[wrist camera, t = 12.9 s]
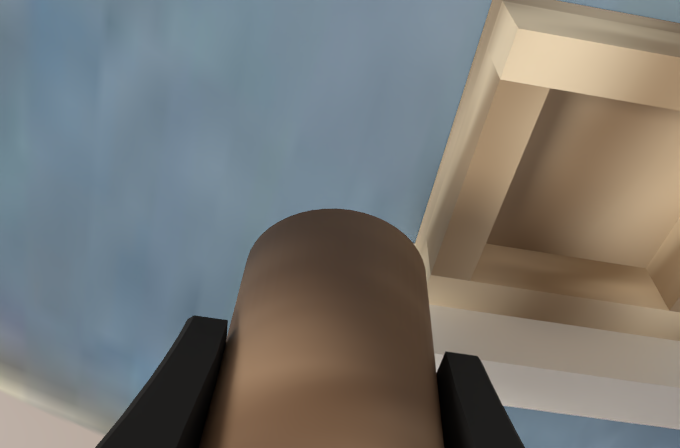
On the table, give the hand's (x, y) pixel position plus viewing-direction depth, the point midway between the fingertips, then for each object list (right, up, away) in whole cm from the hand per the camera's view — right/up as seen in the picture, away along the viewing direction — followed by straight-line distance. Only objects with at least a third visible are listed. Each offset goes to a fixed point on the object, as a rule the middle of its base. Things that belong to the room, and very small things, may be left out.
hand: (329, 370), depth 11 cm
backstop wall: (+7, +1, +11) cm, 13 cm away
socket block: (+8, +5, +8) cm, 12 cm away
